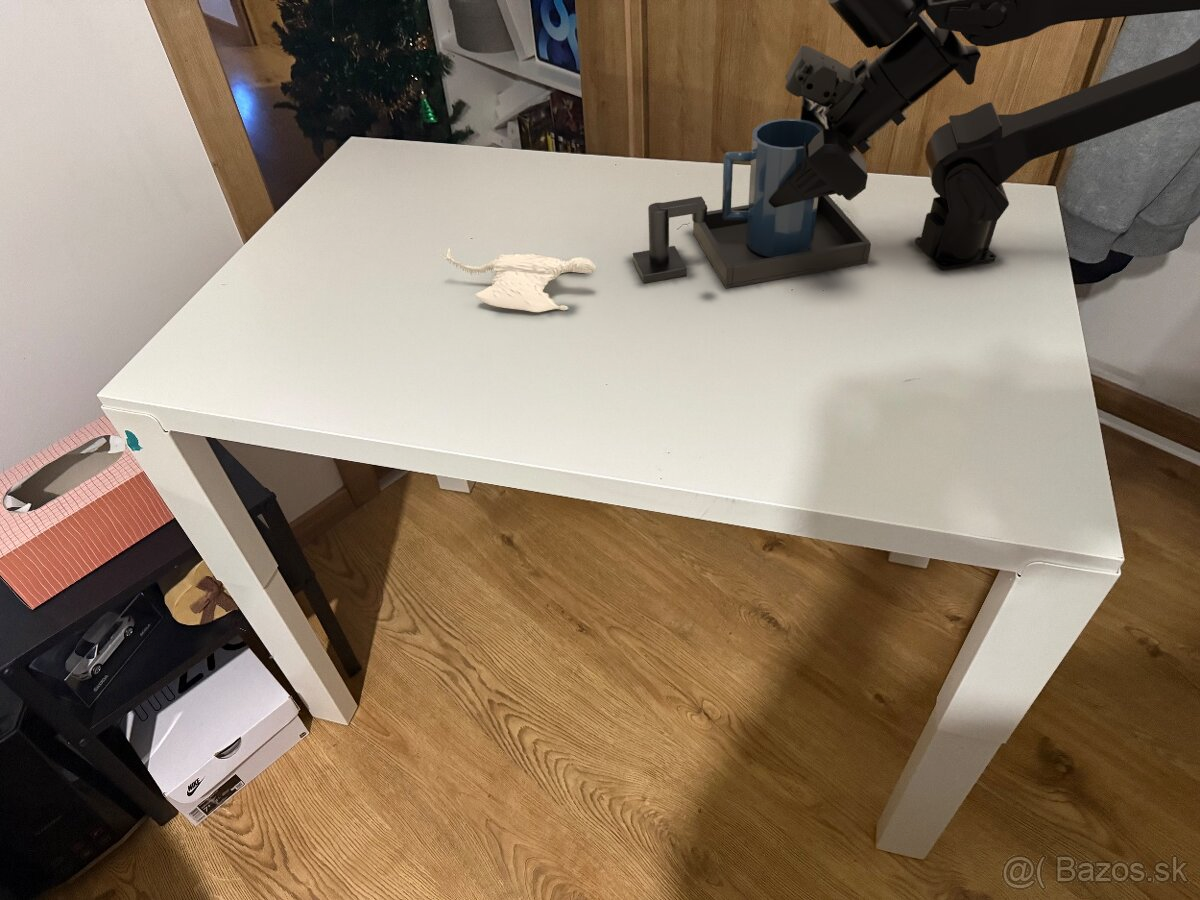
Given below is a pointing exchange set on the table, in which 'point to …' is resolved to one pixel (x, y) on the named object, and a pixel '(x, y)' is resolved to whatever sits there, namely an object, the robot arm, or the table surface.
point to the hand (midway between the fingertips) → (771, 186)
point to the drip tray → (743, 266)
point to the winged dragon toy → (524, 280)
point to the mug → (773, 188)
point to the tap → (666, 239)
